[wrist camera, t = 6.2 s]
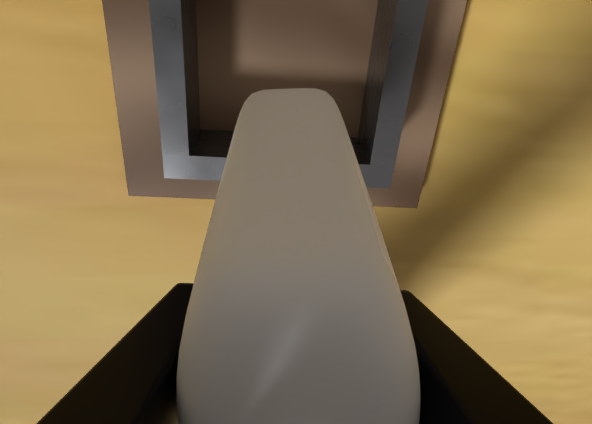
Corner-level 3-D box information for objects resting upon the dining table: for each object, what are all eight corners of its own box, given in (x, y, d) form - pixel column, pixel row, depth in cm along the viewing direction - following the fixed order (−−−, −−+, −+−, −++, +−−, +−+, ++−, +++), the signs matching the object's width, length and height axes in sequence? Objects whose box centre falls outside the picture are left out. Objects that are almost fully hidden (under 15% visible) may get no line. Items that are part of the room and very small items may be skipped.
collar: (375, 159, 20) (390, 188, 18) (178, 149, 20) (164, 178, 17) (428, -141, 15) (460, -162, 12) (157, -168, 14) (131, -196, 12)
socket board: (411, 198, 23) (417, 207, 22) (134, 186, 22) (128, 195, 21) (509, -222, 15) (523, -234, 14) (76, -273, 14) (62, -288, 13)
